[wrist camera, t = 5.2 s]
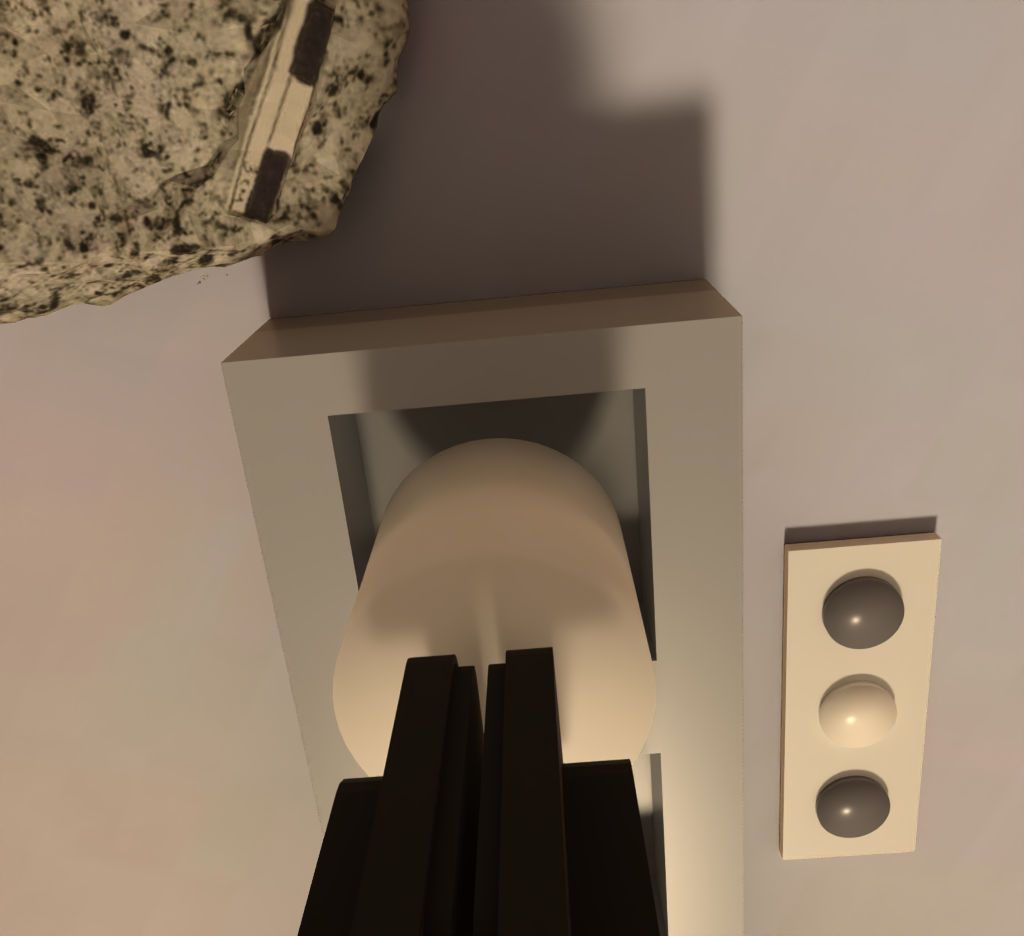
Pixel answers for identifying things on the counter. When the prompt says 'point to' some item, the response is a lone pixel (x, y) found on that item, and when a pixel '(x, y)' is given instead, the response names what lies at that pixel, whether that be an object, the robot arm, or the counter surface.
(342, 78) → the rock sample
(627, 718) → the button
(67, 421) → the counter surface
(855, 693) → the card
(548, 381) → the button board
